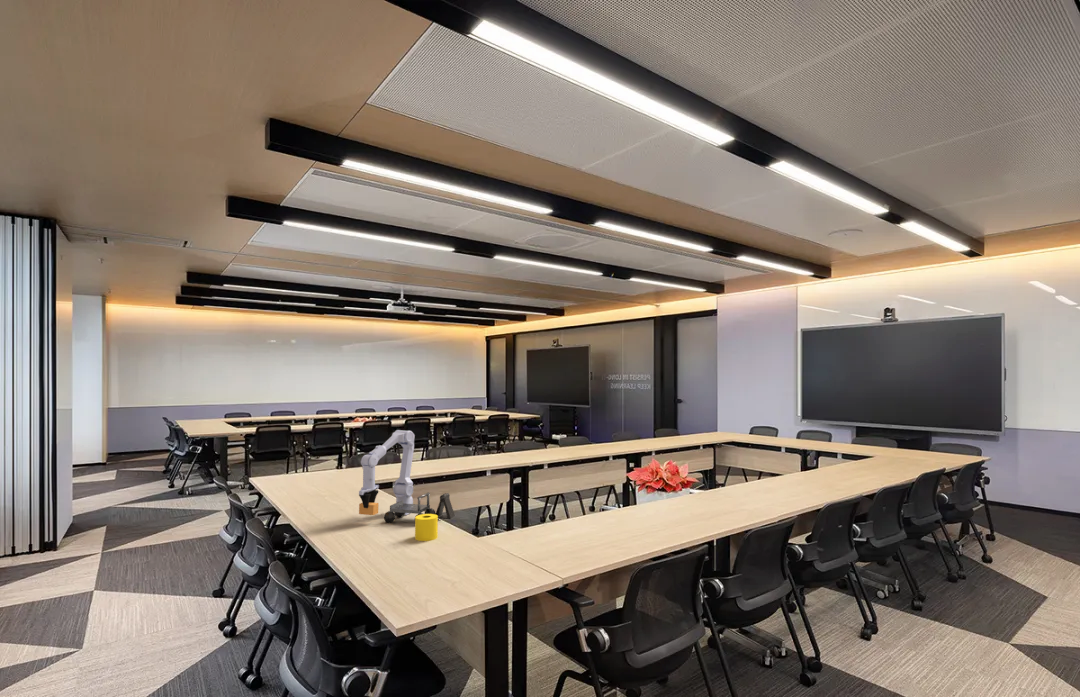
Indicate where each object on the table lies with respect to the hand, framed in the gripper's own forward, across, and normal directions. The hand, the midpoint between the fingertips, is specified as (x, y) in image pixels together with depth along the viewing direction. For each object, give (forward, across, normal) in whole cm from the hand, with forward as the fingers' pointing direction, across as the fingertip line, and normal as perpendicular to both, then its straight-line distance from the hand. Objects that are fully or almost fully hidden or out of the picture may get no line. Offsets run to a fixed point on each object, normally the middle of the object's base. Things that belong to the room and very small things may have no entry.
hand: (368, 506), depth 271 cm
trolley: (+8, -9, +18) cm, 22 cm away
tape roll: (+8, +15, +39) cm, 43 cm away
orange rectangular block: (+3, 0, 0) cm, 3 cm away
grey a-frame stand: (+9, -20, +32) cm, 39 cm away
